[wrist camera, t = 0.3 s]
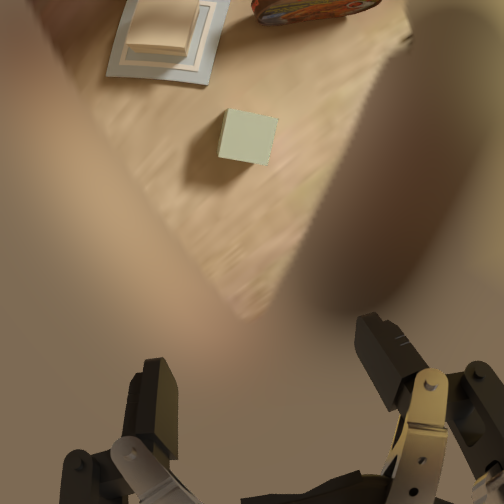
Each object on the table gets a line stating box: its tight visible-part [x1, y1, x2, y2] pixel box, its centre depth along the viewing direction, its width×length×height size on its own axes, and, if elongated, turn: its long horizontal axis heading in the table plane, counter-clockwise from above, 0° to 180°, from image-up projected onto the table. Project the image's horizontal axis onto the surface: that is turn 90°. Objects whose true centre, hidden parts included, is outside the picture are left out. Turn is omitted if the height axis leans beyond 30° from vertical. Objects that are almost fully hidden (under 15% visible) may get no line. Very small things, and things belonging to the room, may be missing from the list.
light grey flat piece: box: [106, 0, 230, 86], centre depth 25 cm, size 12×12×1 cm
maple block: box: [126, 0, 200, 57], centre depth 23 cm, size 6×6×4 cm
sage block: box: [217, 108, 278, 166], centre depth 30 cm, size 5×5×5 cm
